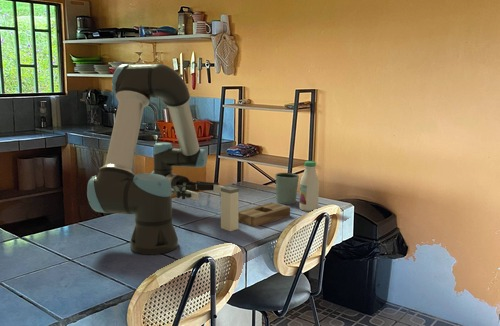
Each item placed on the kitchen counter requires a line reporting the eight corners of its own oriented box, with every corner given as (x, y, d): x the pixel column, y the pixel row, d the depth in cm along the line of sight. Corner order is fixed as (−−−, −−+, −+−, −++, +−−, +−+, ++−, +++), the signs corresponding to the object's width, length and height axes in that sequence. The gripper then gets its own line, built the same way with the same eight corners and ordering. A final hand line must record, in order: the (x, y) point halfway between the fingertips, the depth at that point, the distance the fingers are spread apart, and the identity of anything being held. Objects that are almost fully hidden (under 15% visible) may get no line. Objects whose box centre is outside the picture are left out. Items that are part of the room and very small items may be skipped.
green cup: (271, 199, 218) (272, 173, 215) (292, 197, 221) (293, 171, 218) (279, 205, 208) (280, 178, 206) (301, 203, 211) (302, 176, 209)
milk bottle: (317, 206, 207) (319, 160, 203) (318, 212, 199) (320, 163, 195) (299, 206, 207) (300, 159, 204) (299, 211, 200) (300, 163, 196)
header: (236, 220, 186) (236, 212, 186) (271, 210, 200) (271, 202, 200) (254, 226, 179) (255, 217, 179) (290, 215, 193) (290, 207, 193)
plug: (220, 228, 178) (220, 187, 175) (228, 225, 180) (229, 186, 178) (230, 231, 174) (230, 190, 171) (238, 228, 177) (238, 188, 174)
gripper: (201, 188, 206) (236, 197, 191) (151, 198, 188) (185, 210, 174) (201, 170, 204) (236, 179, 190) (150, 179, 187) (185, 189, 172)
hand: (212, 193), depth 182 cm, fingers open, 13 cm apart
